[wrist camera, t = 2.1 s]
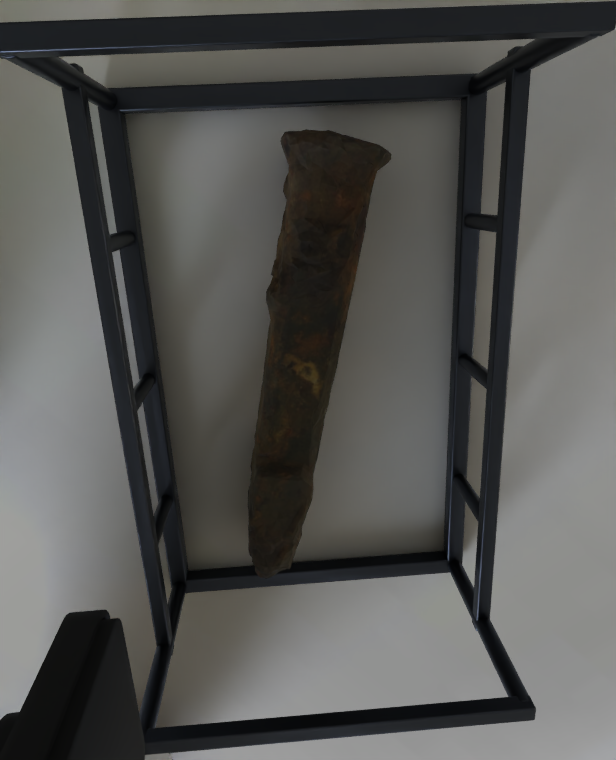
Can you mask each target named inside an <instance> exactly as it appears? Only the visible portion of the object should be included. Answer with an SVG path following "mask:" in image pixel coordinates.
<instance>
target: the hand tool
mask: <svg viewBox="0 0 616 760" xmlns="http://www.w3.org/2000/svg"><path fill="white" fill-rule="evenodd" d="M281 145H282V148H283V150H284V153H285V156H286V159H287V162H288V165H289V172H288V174H287V177H286V179H285V182H284V187H283V192H284V194H285V197H286V199H287V202H286V207H285V211H284V214H283V221H282V228H281V233H280V236H279V238H278V245H277V254H276V260H275V261H274V265H273V269H272V273H271V275H272V276H273V278H272V281H271V284H270V285H269V287H268V289H267V291H266V301H267V305H268V309H269V314H270V319H271V320H270V324H269V331H268V339H267V350H266V357H265V365H264V375H263V383H262V388H261V396H260V403H259V410H258V420H257V425H256V433H255V445H254V449H253V454H252V462H251V471H252V475H251V479H250V486H249V490H248V509H249V525H248V531H249V553H250V556H251V557H252V562H253V563H254V565H255V572H256V573H257V575H258V576H259V577H260V578H265V579H268V578H270V577H272V576H274V575H275V574H276V573H278V572H279V571H282V570H286V569H290V568H291V565H292V562H293V558H294V555H295V552H296V549H297V546H298V544H299V541H300V538H301V536H302V525H303V523H304V520H305V518H306V514H307V511H308V509H309V506H310V504H311V501H312V495H313V473H314V468H315V464H316V461H317V457H318V451H319V446H320V440H321V435H322V430H323V426H324V418H325V414H326V411H327V408H328V404H329V398H330V392H331V388H332V384H333V381H334V377H335V373H336V369H337V364H338V358H339V352H340V348H341V344H342V339H343V334H344V329H345V324H346V319H347V314H348V310H349V305H350V300H351V295H352V291H353V287H354V282H355V277H356V272H357V267H358V262H359V257H360V252H361V247H362V242H363V237H364V233H365V228H366V217H367V213H368V208H369V203H370V196H371V192H372V187H373V183H374V179H375V176H376V173H377V171H378V170H380V169H381V168H382V167H383V166H385V165H386V164H387V163H388V162H389V161H390V160H391V153H390V152H389V151H388V150H386V149H384V148H383V147H381V146H379V145H377V144H374V143H370V142H367V141H363V140H360V139H357V138H353V137H350V136H347V135H342V134H339V133H336V132H333V131H330V130H327V131H316V130H303V131H289V132H285V133H284V134H283V136H282V138H281Z"/></svg>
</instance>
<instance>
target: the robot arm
mask: <svg viewBox="0 0 616 760" xmlns="http://www.w3.org/2000/svg"><path fill="white" fill-rule="evenodd" d="M0 760H145V742H144V736H143V731H142V726H141V720H140V715H139V710H138V705H137V699H136V694H135V689H134V684H133V679H132V673H131V668H130V663H129V658H128V653H127V647H126V642H125V637H124V632H123V626H122V623H121V620H120V619H119V618H115V619H110V615H109V613H108V611H107V610H95V611H84V612H73V613H69V614H67V615H66V616H65V618H64V620H63V622H62V624H61V626H60V628H59V630H58V632H57V634H56V636H55V639H54V641H53V643H52V645H51V647H50V649H49V651H48V653H47V655H46V658H45V660H44V662H43V664H42V666H41V668H40V670H39V672H38V675H37V677H36V679H35V681H34V683H33V685H32V687H31V689H30V691H29V694H28V696H27V698H26V700H25V702H24V704H23V706H22V708H21V711H20V712H16V713H10V714H6V715H5V716H4V717H3V718H2V719H1V720H0Z"/></svg>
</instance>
